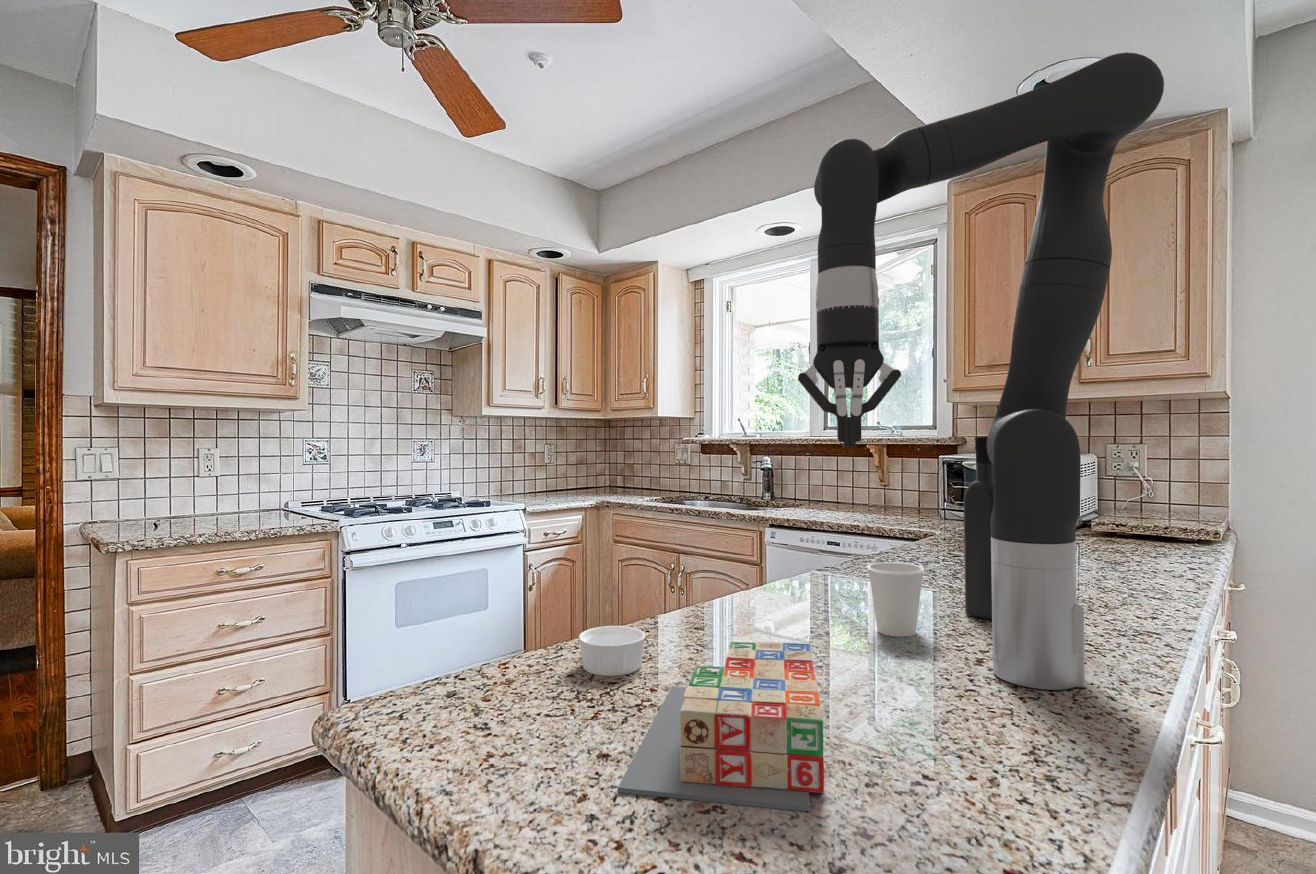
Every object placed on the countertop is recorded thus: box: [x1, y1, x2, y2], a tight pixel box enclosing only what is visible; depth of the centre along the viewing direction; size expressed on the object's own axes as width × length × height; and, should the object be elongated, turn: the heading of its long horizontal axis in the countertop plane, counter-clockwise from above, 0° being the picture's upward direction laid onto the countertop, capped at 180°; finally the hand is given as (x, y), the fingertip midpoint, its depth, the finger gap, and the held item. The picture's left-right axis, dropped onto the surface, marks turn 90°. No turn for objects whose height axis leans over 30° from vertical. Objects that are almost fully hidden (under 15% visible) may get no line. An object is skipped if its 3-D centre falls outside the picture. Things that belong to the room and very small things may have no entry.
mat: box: [617, 686, 810, 813], centre depth 67 cm, size 16×24×1 cm, turn 168°
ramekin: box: [578, 625, 646, 677], centre depth 90 cm, size 9×9×4 cm
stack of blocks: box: [680, 641, 825, 794], centre depth 67 cm, size 21×6×12 cm
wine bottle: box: [962, 436, 994, 621], centre depth 112 cm, size 6×6×30 cm
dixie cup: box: [866, 561, 925, 637], centre depth 104 cm, size 8×8×10 cm
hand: (849, 446), depth 84 cm, fingers closed
